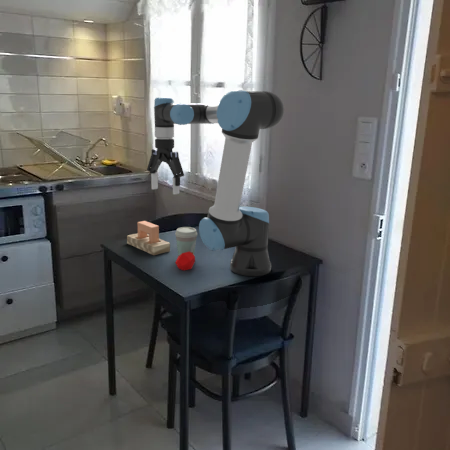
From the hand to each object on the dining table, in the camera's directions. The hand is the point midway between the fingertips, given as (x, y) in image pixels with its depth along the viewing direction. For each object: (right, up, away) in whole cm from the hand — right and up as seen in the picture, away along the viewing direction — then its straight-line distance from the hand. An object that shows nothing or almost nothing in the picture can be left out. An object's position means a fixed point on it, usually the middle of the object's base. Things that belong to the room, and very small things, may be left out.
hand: (165, 191), depth 194 cm
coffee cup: (+9, -27, -8) cm, 30 cm away
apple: (+10, -30, -17) cm, 35 cm away
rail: (-8, -23, +5) cm, 24 cm away
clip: (-8, -23, +5) cm, 24 cm away
